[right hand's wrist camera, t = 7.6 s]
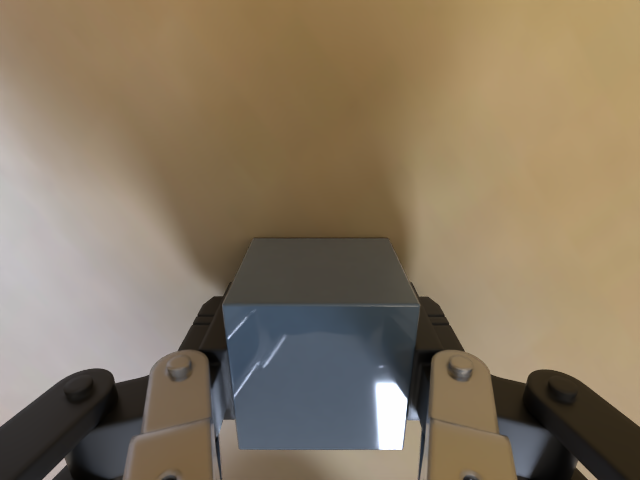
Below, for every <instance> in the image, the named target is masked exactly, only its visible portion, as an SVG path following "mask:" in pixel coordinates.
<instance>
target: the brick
mask: <svg viewBox="0 0 640 480" xmlns="http://www.w3.org/2000/svg"><path fill="white" fill-rule="evenodd" d="M222 311H223V319H224V328H225V336H226V345H227V348H228V356H229V364H230V373H231V382H232V390H233V399H234V408H235V416H236V418H235V422H236V431H237V439H238V447H239V449H240V450H402V449H403V447H404V439H405V430H406V422H407V409H408V401H409V393H410V384H411V376H412V367H413V359H414V351H415V347H416V338H417V330H418V322H419V313H420V303H419V301H418V299H417V297H416V295H415V292H414V290H413V288H412V286H411V284H410V282H409V280H408V278H407V276H406V273H405V271H404V269H403V267H402V265H401V263H400V261H399V259H398V256H397V254H396V252H395V250H394V248H393V246H392V244H391V242H390V240H389V239H388V238H254V239H252V241H251V243H250V245H249V248H248V250H247V252H246V254H245V256H244V258H243V260H242V263H241V265H240V267H239V269H238V271H237V273H236V276H235V278H234V280H233V282H232V284H231V286H230V289H229V291H228V293H227V295H226V297H225V299H224V301H223V304H222Z"/></svg>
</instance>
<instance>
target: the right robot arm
mask: <svg viewBox="0 0 640 480" xmlns="http://www.w3.org/2000/svg"><path fill="white" fill-rule="evenodd" d="M231 284H232V282H230V283H229V285H228V288H227V290H226V292H225V294H224V296H214V297H213V298H211V299H210V300H209V301H207V302H206V303H205V304H204V305H203V306H202V308H201V309H200V311H199V313H198V317H196V319H195V320H194V322H193V325H192V326H191V328H190V330H189V331H188V333H187V335H186V337H185V339H184V340H183V342H182V344H181V346H180V348H179V350H178V351H177V352H174V353H171V354H169V355H166V356H165V357H163V358H161V359H160V360H159V361H158V362H156V363H155V365H154V366H153V367H152V369H151V371H150V375H148V376H145V377H141V378H137V379H133V380H128V381H124V382H119V383H115V381H114V377H113V374H112V373H111V372H109V371H108V370H105V369H88V370H83V371H80V372H77V373H74V374H72V375H70V376H68V377H66V378H64V379H62V380H61V381H59V382H58V383H57V384H55V385H54V386H53V387H51V388H50V389H49V390H47V391H46V392H45V393H44V394H42V395H41V396H40V397H38V398H37V399H36V400H35V401H33V402H32V403H31V404H29V405H28V406H27V407H25V408H24V409H23V410H22V411H20V412H19V413H18V414H16V415H15V416H14V417H13V418H11V419H10V420H9V421H7V422H6V423H5V424H3V425H2V426H1V427H0V480H42V479H43V478H44V477H45V476H46V475H47V474H48V473H49V472H50V471H51V470H52V469H53V468H54V467H55V466H56V465H57V464H58V463H59V462H60V461H61V460H62V459H63V458H65V460H66V463H67V465H66V466H65V467H64V468H63V469H62V470H61V471H60V472H59V473H58V474H57V475H56V476H55V477H54V478H53V479H52V480H223V475H222V462H221V449H220V438H219V432H220V428H221V425H222V422H223V420H235V418H236V416H235V408H234V399H233V390H232V382H231V373H230V364H229V356H228V348H227V345H226V336H225V328H224V319H223V311H222V304H223V301H224V299H225V297H226V295H227V293H228V291H229V289H230V286H231ZM410 284H411V286H412V288H413V290H414V292H415V295H416V297H417V299H418V301H419V303H420V313H419V322H418V330H417V338H416V347H415V351H414V359H413V367H412V376H411V384H410V393H409V401H408V409H407V420H420V424H421V427H422V431H421V438H420V449H419V462H418V475H417V480H588V479H587V478H586V477H585V476H584V475H583V474H582V473H581V472H580V471H579V470H578V469H577V468H576V465H577V462H578V460H579V461H580V462H581V463H582V464H583V465H584V466H585V467H586V468H587V469H588V470H589V471H590V472H591V473H592V474H593V475H594V476H595V477H596V478H597V479H598V480H640V427H639V426H638V425H637V424H635V423H634V422H633V421H631V420H630V419H629V418H627V417H626V416H625V415H624V414H622V413H621V412H620V411H618V410H617V409H616V408H615V407H613V406H612V405H611V404H609V403H608V402H607V401H605V400H604V399H603V398H602V397H600V396H599V395H598V394H596V393H595V392H594V391H593V390H591V389H590V388H589V387H587V386H586V385H585V384H583V383H582V382H581V381H579V380H577V379H575V378H574V377H572V376H569V375H567V374H564V373H561V372H558V371H554V370H537V371H534V372H532V373H531V374H530V375H529V376H528V379H527V383H526V384H525V383H521V382H517V381H512V380H508V379H503V378H500V377H496V376H494V375H491V374H490V371H489V369H488V367H487V366H486V365H485V363H484V362H482V361H481V360H480V359H479V358H477V357H475V356H474V355H471V354H469V353H466V352H465V351H464V349H463V347H462V345H461V344H460V342H459V340H458V338H457V336H456V335H455V333H454V331H453V329H452V328H451V326H450V325H449V322H448V320H447V319H446V317H445V315H444V313H443V311H442V310H441V308H440V306H439V305H438V304H437V303H435V302H434V301H433V300H432V299H430V298H429V297H419V296H418V294H417V292H416V290H415V288H414V286H413V284H412V282H410Z"/></svg>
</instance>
